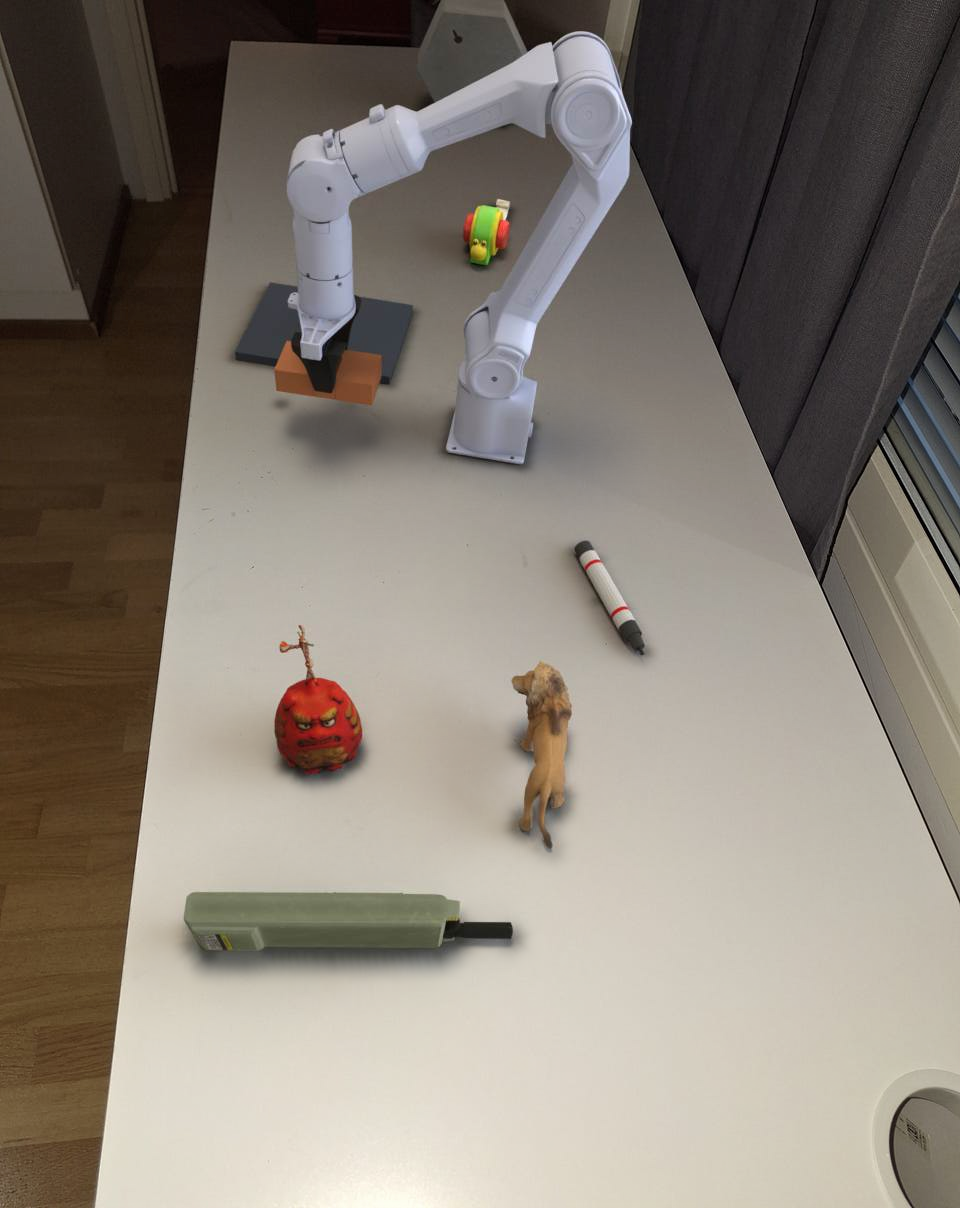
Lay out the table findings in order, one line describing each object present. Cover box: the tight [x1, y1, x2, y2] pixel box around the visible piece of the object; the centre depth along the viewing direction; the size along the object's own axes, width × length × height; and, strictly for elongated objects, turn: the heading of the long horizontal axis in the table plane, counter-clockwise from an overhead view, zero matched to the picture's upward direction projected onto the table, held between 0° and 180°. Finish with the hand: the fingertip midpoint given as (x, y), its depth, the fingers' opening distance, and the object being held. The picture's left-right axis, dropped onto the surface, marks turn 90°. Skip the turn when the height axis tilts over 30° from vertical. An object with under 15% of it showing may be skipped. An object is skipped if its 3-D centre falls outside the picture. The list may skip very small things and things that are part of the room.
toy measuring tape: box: [462, 198, 511, 266], centre depth 136 cm, size 6×19×7 cm, turn 166°
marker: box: [573, 539, 646, 656], centre depth 95 cm, size 15×2×2 cm, turn 20°
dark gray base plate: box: [234, 282, 414, 385], centre depth 118 cm, size 20×16×6 cm
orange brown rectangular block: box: [273, 341, 382, 407], centre depth 102 cm, size 11×5×3 cm, turn 83°
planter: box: [416, 0, 528, 103], centre depth 156 cm, size 17×8×21 cm
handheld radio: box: [183, 891, 514, 951], centre depth 70 cm, size 7×3×25 cm
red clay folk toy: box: [273, 624, 363, 776], centre depth 77 cm, size 8×7×15 cm
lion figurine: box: [510, 660, 573, 849], centre depth 80 cm, size 15×5×9 cm, turn 6°
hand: (330, 373), depth 102 cm, fingers closed on orange brown rectangular block, 5 cm apart
